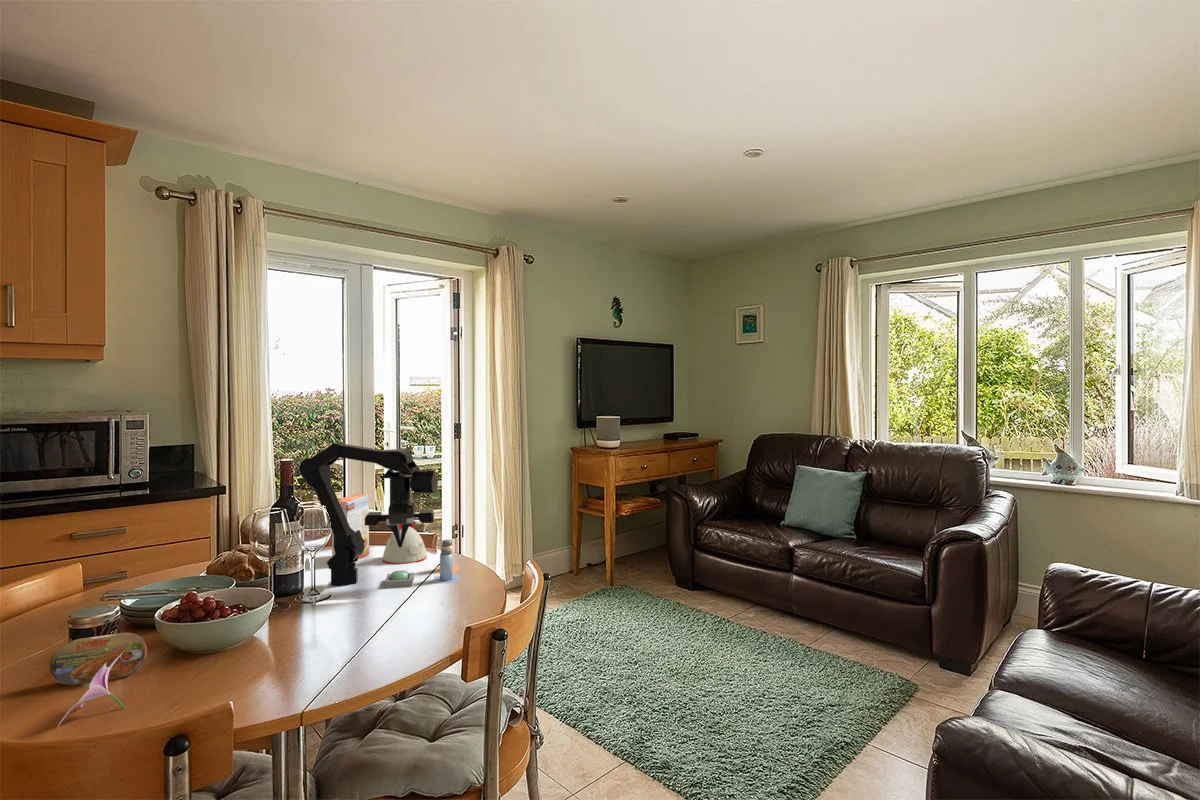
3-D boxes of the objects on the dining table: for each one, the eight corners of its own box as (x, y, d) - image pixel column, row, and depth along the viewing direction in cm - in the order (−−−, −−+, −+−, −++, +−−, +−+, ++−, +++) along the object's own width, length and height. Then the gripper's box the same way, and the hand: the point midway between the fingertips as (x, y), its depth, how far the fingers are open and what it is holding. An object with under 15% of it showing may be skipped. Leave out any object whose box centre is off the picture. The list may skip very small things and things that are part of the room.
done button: (390, 586, 174) (390, 575, 174) (392, 581, 179) (392, 570, 179) (407, 585, 175) (407, 574, 175) (408, 580, 180) (408, 570, 180)
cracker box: (353, 553, 213) (353, 493, 212) (369, 554, 212) (369, 494, 211) (330, 565, 199) (330, 500, 198) (347, 565, 198) (347, 501, 197)
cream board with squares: (383, 592, 173) (383, 581, 173) (391, 572, 191) (391, 562, 191) (463, 587, 177) (463, 577, 177) (463, 568, 196) (463, 559, 196)
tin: (48, 689, 117) (48, 645, 116) (55, 681, 119) (55, 639, 119) (144, 675, 123) (144, 633, 122) (148, 668, 125) (148, 627, 125)
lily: (121, 694, 117) (88, 656, 114) (166, 677, 114) (134, 638, 112) (62, 749, 105) (25, 708, 103) (111, 731, 103) (74, 689, 100)
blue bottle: (439, 581, 179) (439, 550, 179) (440, 577, 182) (440, 547, 182) (452, 580, 179) (452, 550, 179) (452, 577, 183) (452, 547, 183)
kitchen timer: (374, 563, 202) (374, 517, 201) (408, 553, 213) (408, 511, 213) (400, 570, 194) (401, 523, 193) (435, 560, 205) (435, 516, 205)
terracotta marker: (440, 571, 189) (440, 542, 188) (441, 568, 192) (441, 539, 192) (452, 570, 189) (452, 541, 189) (452, 567, 193) (453, 539, 193)
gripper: (361, 499, 167) (361, 556, 167) (432, 497, 171) (432, 552, 171) (367, 492, 178) (367, 546, 178) (434, 490, 182) (434, 542, 182)
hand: (400, 547), depth 177 cm, fingers closed
